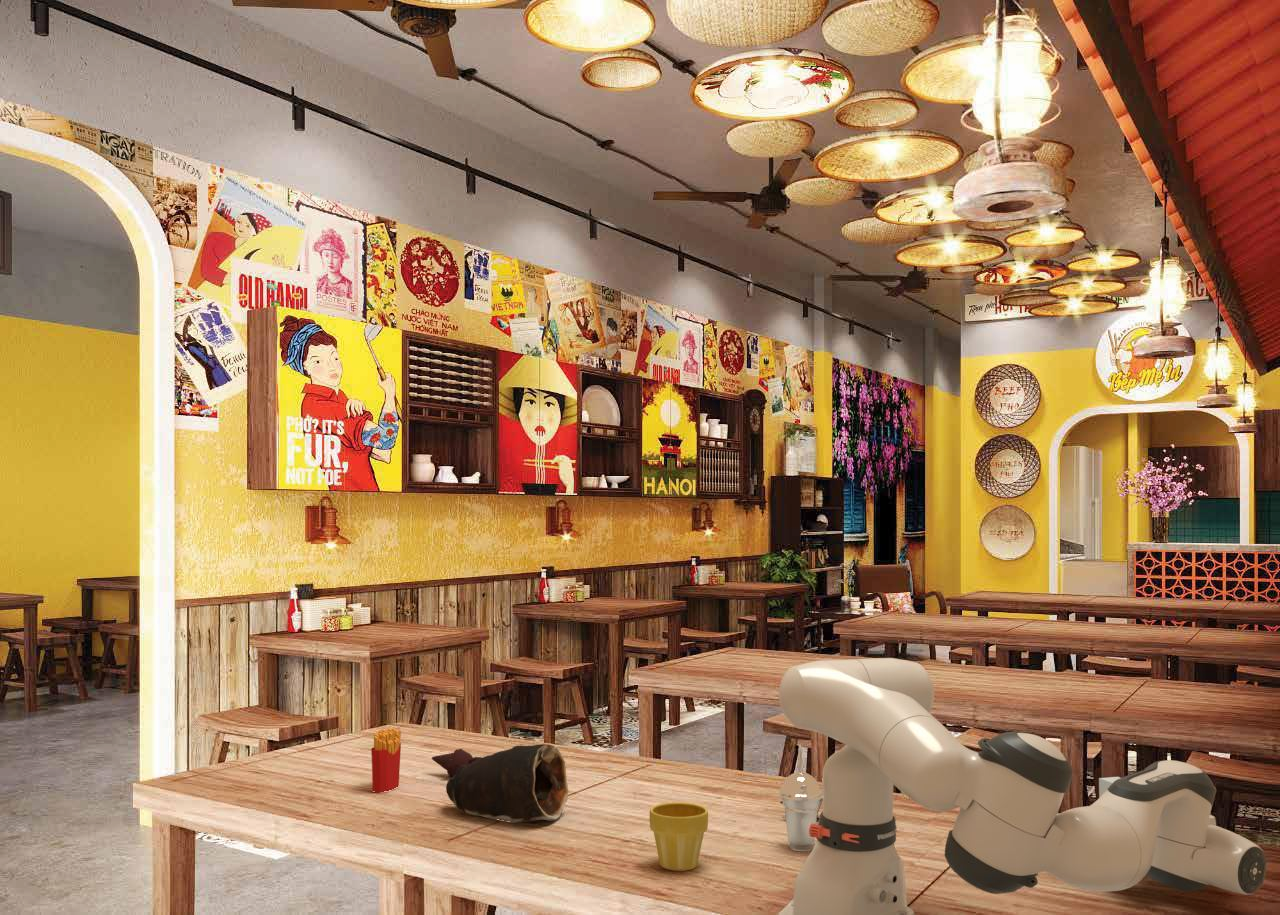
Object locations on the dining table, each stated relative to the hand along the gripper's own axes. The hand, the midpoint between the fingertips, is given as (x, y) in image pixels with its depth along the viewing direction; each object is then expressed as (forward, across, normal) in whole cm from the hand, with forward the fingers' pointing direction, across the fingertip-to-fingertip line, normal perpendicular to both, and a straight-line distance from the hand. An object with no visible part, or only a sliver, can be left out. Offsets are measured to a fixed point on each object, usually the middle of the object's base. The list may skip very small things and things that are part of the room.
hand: (1113, 816), depth 187 cm
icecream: (+97, -103, -10) cm, 141 cm away
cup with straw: (+27, -48, -10) cm, 55 cm away
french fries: (+91, -119, -10) cm, 151 cm away
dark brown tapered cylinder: (+64, -98, -10) cm, 117 cm away
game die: (+44, -39, -10) cm, 59 cm away
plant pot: (+24, -72, -10) cm, 77 cm away
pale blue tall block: (-1, 0, -10) cm, 10 cm away
